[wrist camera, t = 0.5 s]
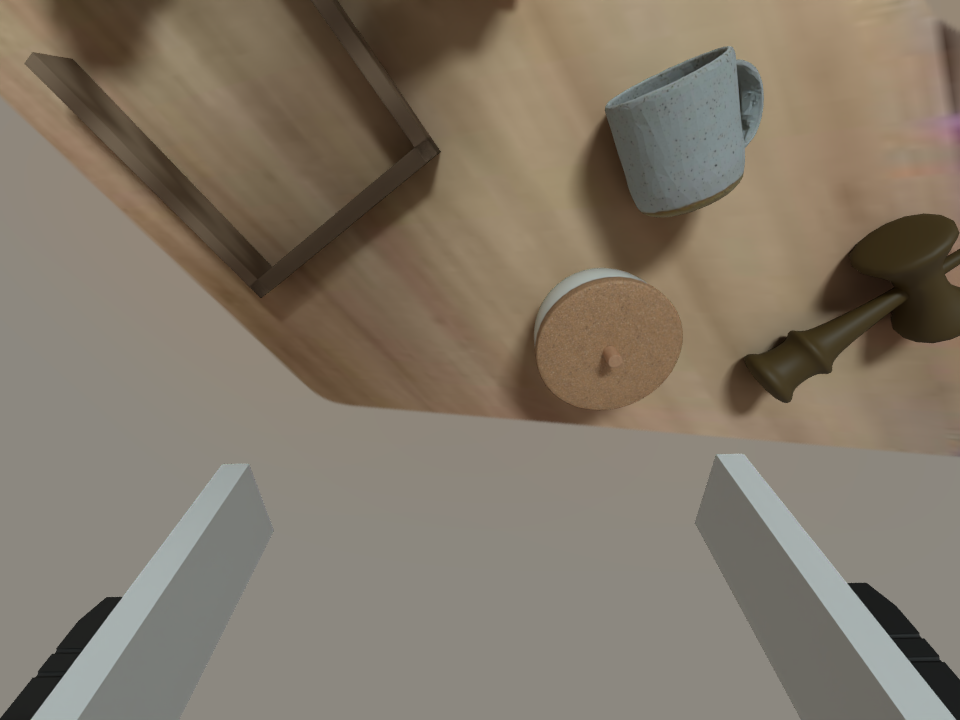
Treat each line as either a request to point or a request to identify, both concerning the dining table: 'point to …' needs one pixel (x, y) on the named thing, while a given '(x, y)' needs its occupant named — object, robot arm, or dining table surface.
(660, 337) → the lidded jar
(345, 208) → the walnut bay
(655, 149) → the ceramic mug
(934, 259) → the kendama
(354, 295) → the dining table surface
